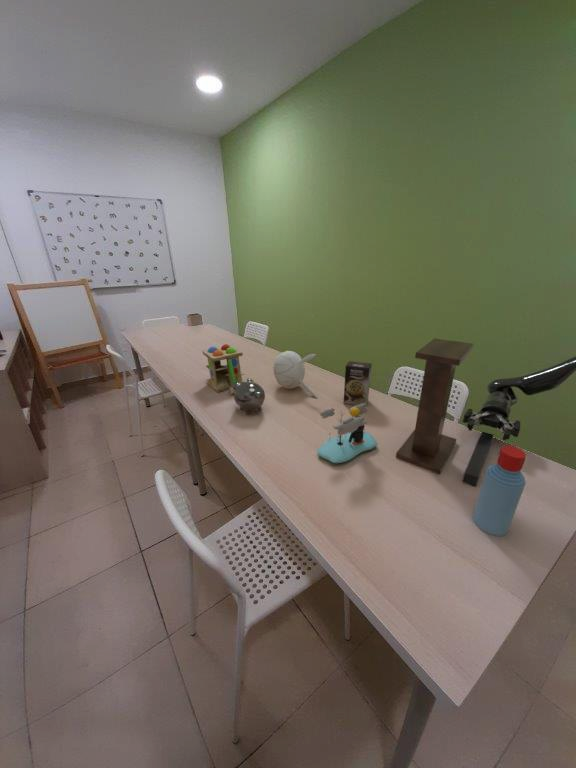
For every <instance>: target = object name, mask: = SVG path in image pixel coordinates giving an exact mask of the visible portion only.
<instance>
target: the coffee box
mask: <svg viewBox="0 0 576 768" xmlns="http://www.w3.org/2000/svg"><path fill="white" fill-rule="evenodd" d="M372 367H373V365H372V363H371V362H362V361H352V360H349V361H347V363H346V365H345V370H344V371H345V372H344V387H343V404H346V405H352V406H356V405H360V404H363V403H365V404H366V405H367V404H368V402H369V395H370V386H371V385H370V384H371V374H372ZM367 406H368V405H367Z"/></svg>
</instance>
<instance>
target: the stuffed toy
mask: <svg viewBox="0 0 576 768" xmlns="http://www.w3.org/2000/svg"><path fill="white" fill-rule="evenodd" d="M316 356H317V353H310V354H308V355H306V356H305V357H303V358H302V357H301V356H300V355H299V354H298V353H296V352H295V351H292V350H285V351H283V352H281V353H280V354H279V355H278V356H277V357H276V359H275V361H274V364H273V375H274V378H275V380H276V382H277V384H278V385H279V386H281V387H282V388H283V389H287V390H293V389H295V388H298V387H299V386H300V385H302V387H303V388H304V389H305V391H306V392H307V393H308V394H310V396H312V397H313V398H316V399H318V396H317V394H316V392H314V391H313V390H312V388H311V387H309V385H308V384H306V383H305V382H304V381H303V380H304V379H305V373H306V367H305V363H307V362H309V361H311V360H313V359H314V358H315V357H316Z"/></svg>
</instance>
